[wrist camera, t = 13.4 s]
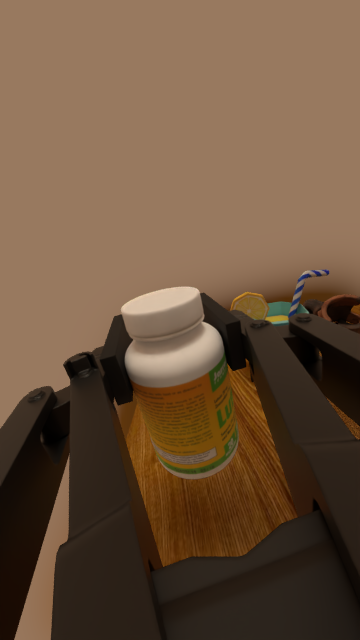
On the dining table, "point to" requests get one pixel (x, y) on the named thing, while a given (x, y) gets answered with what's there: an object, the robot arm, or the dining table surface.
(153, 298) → the supplement bottle
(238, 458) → the dining table surface
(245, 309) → the cup
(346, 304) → the broken clay pot
